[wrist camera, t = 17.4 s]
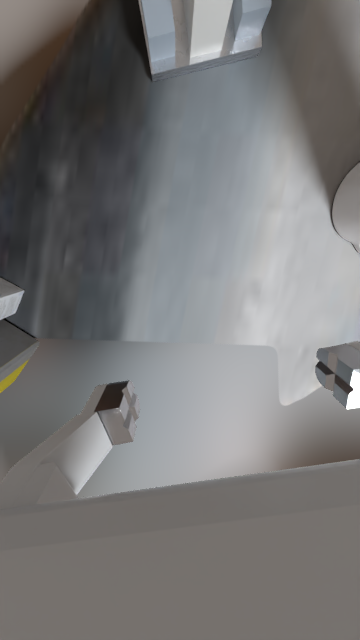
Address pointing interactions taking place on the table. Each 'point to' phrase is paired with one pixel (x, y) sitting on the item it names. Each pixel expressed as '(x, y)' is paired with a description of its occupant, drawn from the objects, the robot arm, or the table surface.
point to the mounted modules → (160, 29)
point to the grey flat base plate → (186, 65)
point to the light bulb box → (9, 298)
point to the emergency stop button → (13, 352)
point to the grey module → (206, 24)
